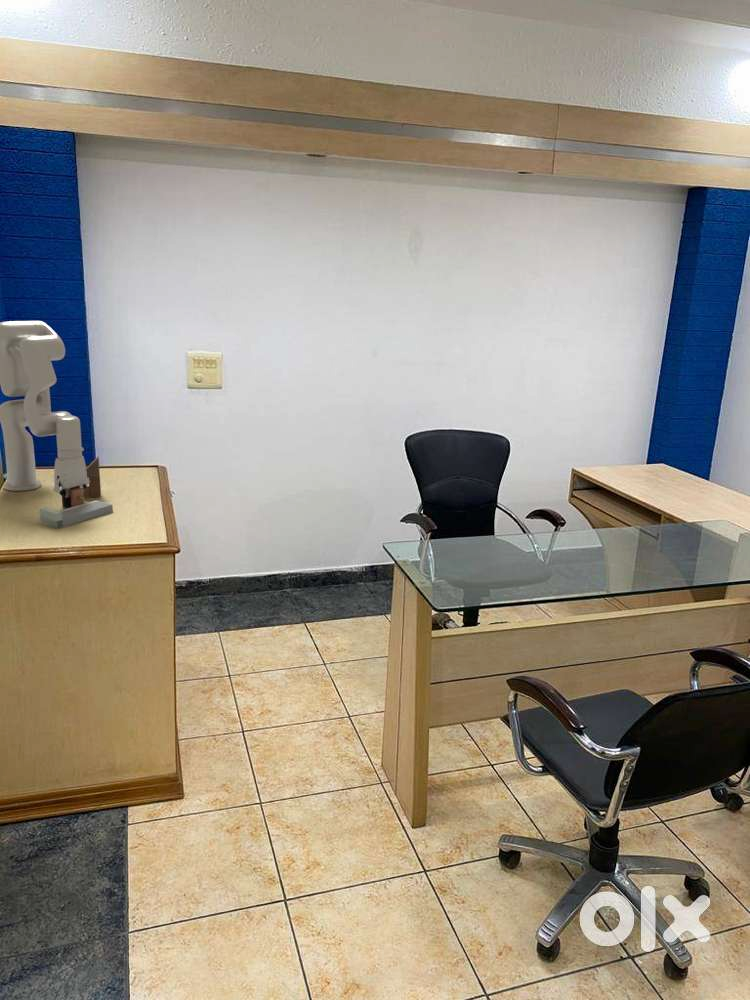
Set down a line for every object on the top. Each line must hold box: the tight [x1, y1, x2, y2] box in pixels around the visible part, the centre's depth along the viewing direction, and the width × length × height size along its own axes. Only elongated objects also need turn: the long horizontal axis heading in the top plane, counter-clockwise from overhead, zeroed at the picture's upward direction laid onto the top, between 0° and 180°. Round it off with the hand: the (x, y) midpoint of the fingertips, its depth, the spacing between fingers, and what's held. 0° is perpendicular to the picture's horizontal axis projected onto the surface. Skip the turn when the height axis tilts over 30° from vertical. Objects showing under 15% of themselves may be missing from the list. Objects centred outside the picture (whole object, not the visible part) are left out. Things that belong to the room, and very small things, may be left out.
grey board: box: [39, 499, 114, 529], centre depth 258 cm, size 8×22×5 cm, turn 149°
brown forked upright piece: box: [83, 456, 102, 498], centre depth 278 cm, size 4×11×18 cm, turn 105°
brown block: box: [61, 487, 86, 509], centre depth 265 cm, size 8×4×7 cm, turn 59°
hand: (73, 505), depth 267 cm, fingers closed on brown block, 4 cm apart
